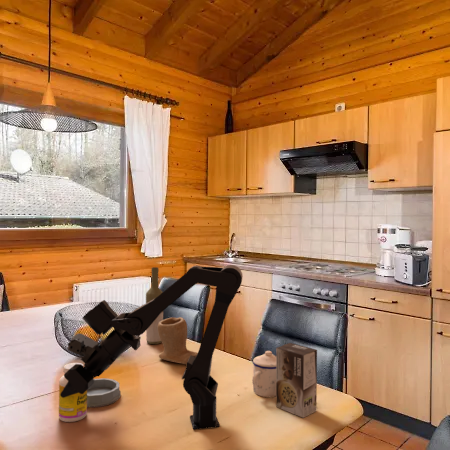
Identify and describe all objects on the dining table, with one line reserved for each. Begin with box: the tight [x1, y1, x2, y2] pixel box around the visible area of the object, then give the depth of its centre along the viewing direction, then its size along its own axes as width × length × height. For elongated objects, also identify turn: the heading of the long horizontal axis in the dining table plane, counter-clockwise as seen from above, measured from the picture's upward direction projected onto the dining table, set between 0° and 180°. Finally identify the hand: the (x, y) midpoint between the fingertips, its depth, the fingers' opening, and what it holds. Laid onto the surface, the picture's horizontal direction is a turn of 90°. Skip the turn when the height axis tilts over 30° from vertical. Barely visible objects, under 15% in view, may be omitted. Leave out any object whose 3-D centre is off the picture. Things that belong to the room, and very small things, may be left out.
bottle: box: [145, 266, 164, 345], centre depth 167 cm, size 7×7×30 cm
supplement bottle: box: [58, 362, 88, 423], centre depth 105 cm, size 7×7×13 cm
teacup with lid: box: [251, 350, 276, 398], centre depth 121 cm, size 12×9×12 cm
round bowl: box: [87, 377, 122, 408], centre depth 117 cm, size 12×12×3 cm
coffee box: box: [275, 342, 318, 418], centre depth 111 cm, size 9×6×16 cm
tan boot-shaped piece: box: [158, 316, 198, 365], centre depth 147 cm, size 15×12×15 cm
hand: (67, 390), depth 105 cm, fingers closed on supplement bottle, 7 cm apart
